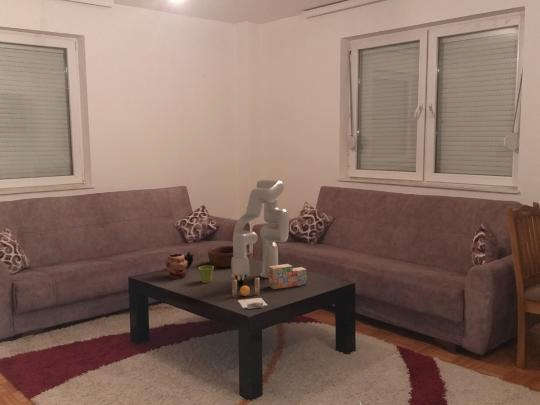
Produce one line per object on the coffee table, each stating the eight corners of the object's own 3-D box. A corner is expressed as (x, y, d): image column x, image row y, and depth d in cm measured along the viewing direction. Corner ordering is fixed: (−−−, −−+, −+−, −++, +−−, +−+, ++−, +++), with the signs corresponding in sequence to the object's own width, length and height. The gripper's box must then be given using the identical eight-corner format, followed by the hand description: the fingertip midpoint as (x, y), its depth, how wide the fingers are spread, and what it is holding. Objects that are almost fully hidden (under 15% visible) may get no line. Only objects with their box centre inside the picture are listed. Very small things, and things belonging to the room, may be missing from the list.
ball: (249, 297, 304) (248, 288, 307) (251, 292, 299) (250, 283, 302) (239, 298, 302) (238, 288, 305) (241, 293, 298) (240, 284, 301)
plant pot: (211, 284, 327) (211, 269, 326) (196, 283, 329) (196, 269, 328) (216, 279, 336) (216, 265, 335) (201, 279, 338) (201, 265, 337)
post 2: (258, 293, 307) (258, 277, 305) (260, 294, 304) (259, 278, 303) (254, 293, 306) (254, 278, 305) (255, 295, 303) (255, 279, 302)
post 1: (236, 295, 303) (236, 279, 302) (237, 297, 301) (237, 280, 299) (231, 296, 302) (231, 280, 301) (232, 297, 300) (232, 281, 299)
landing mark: (261, 298, 298) (261, 297, 298) (267, 305, 285) (267, 305, 285) (237, 300, 294) (237, 300, 294) (243, 308, 282) (243, 307, 282)
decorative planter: (159, 275, 349) (158, 253, 347) (176, 271, 357) (175, 250, 355) (176, 281, 334) (175, 258, 332) (193, 277, 341) (192, 255, 340)
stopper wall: (262, 306, 284) (262, 301, 284) (263, 307, 283) (263, 302, 282) (247, 308, 282) (247, 303, 281) (248, 308, 280) (247, 304, 280)
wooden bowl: (250, 261, 381) (250, 247, 380) (235, 270, 358) (235, 254, 357) (218, 259, 390) (217, 244, 389) (201, 267, 367) (200, 252, 365)
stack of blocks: (302, 282, 328) (302, 262, 327) (306, 284, 323) (306, 264, 321) (269, 286, 320) (268, 265, 319) (273, 289, 314) (272, 268, 313)
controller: (194, 266, 369) (194, 252, 368) (179, 270, 361) (178, 255, 359) (190, 265, 372) (190, 251, 371) (175, 268, 364) (174, 254, 362)
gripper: (251, 252, 319) (251, 283, 321) (225, 254, 315) (226, 285, 317) (254, 255, 311) (255, 287, 314) (228, 257, 307) (229, 289, 310)
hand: (240, 286), depth 315 cm, fingers closed
